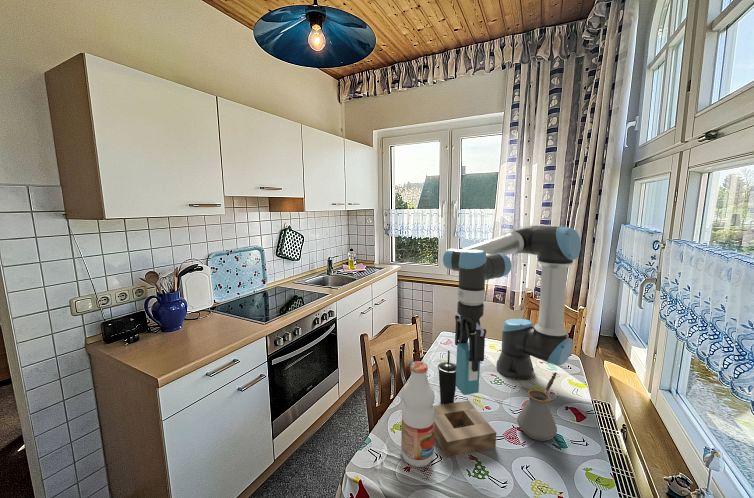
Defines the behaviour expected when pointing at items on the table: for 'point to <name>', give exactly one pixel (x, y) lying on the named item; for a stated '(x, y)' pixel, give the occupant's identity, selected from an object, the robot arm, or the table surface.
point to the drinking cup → (447, 381)
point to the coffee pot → (538, 415)
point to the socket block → (462, 429)
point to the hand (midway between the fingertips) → (467, 374)
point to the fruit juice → (418, 418)
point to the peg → (465, 371)
